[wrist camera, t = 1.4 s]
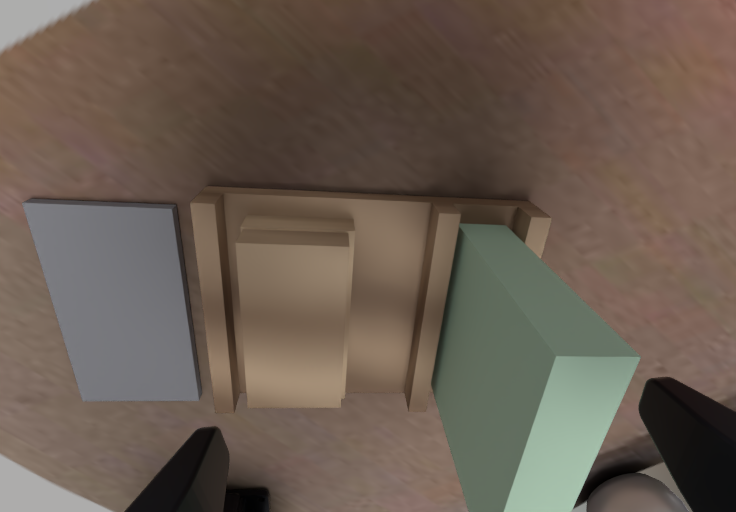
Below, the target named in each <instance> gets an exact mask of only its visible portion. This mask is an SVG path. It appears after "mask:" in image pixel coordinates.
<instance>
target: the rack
mask: <svg viewBox="0 0 736 512" xmlns="http://www.w3.org/2000/svg"><path fill="white" fill-rule="evenodd" d="M190 207H191V215H192V224H193V232H194V240H195V249H196V257H197V265H198V273H199V282H200V290H201V298H202V306H203V315H204V323H205V331H206V339H207V348H208V356H209V364H210V373H211V381H212V389H213V397H214V406H215V413H234V412H235V409H236V405H237V401H238V398H239V394H240V393H247V391H246V377H245V364H244V350H243V337H242V324H241V310H240V297H239V283H238V270H237V256H236V241H237V239H238V237H239V235H240V234H241V229H240V227H241V225H242V223H243V221H244V219H245V217H246V216H247V215H261V216H286V217H311V218H336V219H354V226H355V241H354V257H353V273H352V289H351V305H350V321H349V337H348V354H347V370H346V386H345V393H405V397H406V402H407V406H408V411H409V412H426V408H427V402H428V397H429V393H433V390H432V386H431V380H432V374H433V369H434V363H435V358H436V352H437V346H438V341H439V335H440V330H441V324H442V318H443V313H444V307H445V302H446V296H447V291H448V285H449V279H450V274H451V268H452V263H453V257H454V251H455V246H456V240H457V235H458V229H459V223H461V224H486V225H506V226H507V227H508V228H509V229H510V230H511V231H512V232H513V233H514V234H515V235H516V236H517V237H518V238H519V239H520V240H522V241H523V242H524V243H525V244H526V245H527V246H528V247H529V248H530V249H531V250H532V251H533V252H534V253H535V254H536V255H537V256H538V257H539V258H540V259H541V257H542V253H543V250H544V246H545V243H546V239H547V235H548V232H549V228H550V225H551V221H552V218H551V217H550V216H549V215H547V214H546V213H545V212H543V211H542V210H541V209H539V208H538V207H536V206H535V205H534V204H532V203H531V202H530V201H518V200H497V199H475V198H454V197H432V196H411V195H389V194H368V193H346V192H325V191H303V190H281V189H260V188H238V187H217V186H206V187H205V188H204V189H203V190H202V191H201V192H200V193H199V194H198V195H197V196H196V197H195V198H194V199H193V200H192V201H191V202H190Z"/></svg>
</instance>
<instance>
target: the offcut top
mask: <svg viewBox="0 0 736 512" xmlns="http://www.w3.org/2000/svg"><path fill="white" fill-rule="evenodd" d="M236 256H237V270H238V283H239V297H240V310H241V324H242V337H243V350H244V364H245V377H246V391H247V404H248V408H340V405H341V387H342V370H343V352H344V335H345V317H346V299H347V282H348V264H349V235H348V233H337V232H310V231H282V230H255V229H243V230H242V232H241V234H240V235H239V237H238V239H237V241H236Z"/></svg>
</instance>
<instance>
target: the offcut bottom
mask: <svg viewBox="0 0 736 512" xmlns="http://www.w3.org/2000/svg"><path fill="white" fill-rule="evenodd" d="M240 229H241V232H242V230H243V229H255V230H282V231H310V232H337V233H348V235H349V264H348V282H347V299H346V317H345V335H344V352H343V370H342V387H341V399H345V386H346V370H347V354H348V337H349V321H350V305H351V289H352V273H353V257H354V241H355V226H354V219H336V218H311V217H286V216H261V215H247V216H246V217H245V219H244V221H243V223H242V225H241V227H240Z"/></svg>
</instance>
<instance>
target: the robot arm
mask: <svg viewBox="0 0 736 512" xmlns="http://www.w3.org/2000/svg"><path fill="white" fill-rule="evenodd" d="M639 414H640V416H641V419H642V421H643V423H644V424H645V426H646V428H647V430H648V432H649V434H650V436H651V438H652V440H653V442H654V444H655V445H656V447H657V449H658V451H659V453H660V455H661V457H662V459H663V461H664V463H665V464H666V466H667V468H668V470H669V472H670V474H671V476H672V478H673V480H674V481H675V483H676V485H677V487H678V489H679V490H680V492H681V493H682V495H683V497H684V498H685V500H686V502H687V503H688V504H689V506H690V508H691V509H692V511H693V512H736V412H735V411H733V410H731V409H729V408H727V407H726V406H724V405H722V404H720V403H718V402H716V401H714V400H713V399H711V398H709V397H707V396H705V395H703V394H701V393H700V392H698V391H696V390H694V389H692V388H690V387H688V386H687V385H685V384H683V383H681V382H679V381H677V380H675V379H673V378H671V377H658V378H651V379H649V380H647V381H646V383H645V386H644V390H643V393H642V396H641V399H640V402H639ZM228 469H229V451H228V448H227V446H226V443H225V440H224V438H223V435H222V433H221V430H220V429H219V428H218V427H216V426H213V427H204V428H199V429H197V430H196V431H195V432H194V433H193V434H192V435H191V436H190V438H189V439H188V440H187V441H186V442H185V443H184V444H183V445H182V447H181V448H180V449H179V450H178V451H177V452H176V453H175V455H174V456H173V457H172V458H171V459H170V460H169V461H168V463H167V464H166V465H165V466H164V467H163V468H162V469H161V471H160V472H159V473H158V474H157V475H156V476H155V477H154V479H153V480H152V481H151V482H150V483H149V484H148V485H147V487H146V488H145V489H144V490H143V491H142V492H141V493H140V495H139V496H138V497H137V498H136V499H135V500H134V501H133V502H132V504H131V505H130V506H129V507H128V508H127V509H126V510H125V512H270V496H269V492H268V491H266V490H226V484H227V477H228Z"/></svg>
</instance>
